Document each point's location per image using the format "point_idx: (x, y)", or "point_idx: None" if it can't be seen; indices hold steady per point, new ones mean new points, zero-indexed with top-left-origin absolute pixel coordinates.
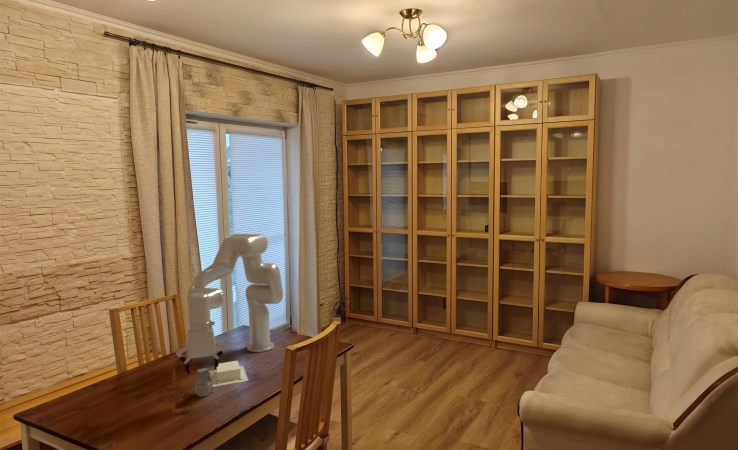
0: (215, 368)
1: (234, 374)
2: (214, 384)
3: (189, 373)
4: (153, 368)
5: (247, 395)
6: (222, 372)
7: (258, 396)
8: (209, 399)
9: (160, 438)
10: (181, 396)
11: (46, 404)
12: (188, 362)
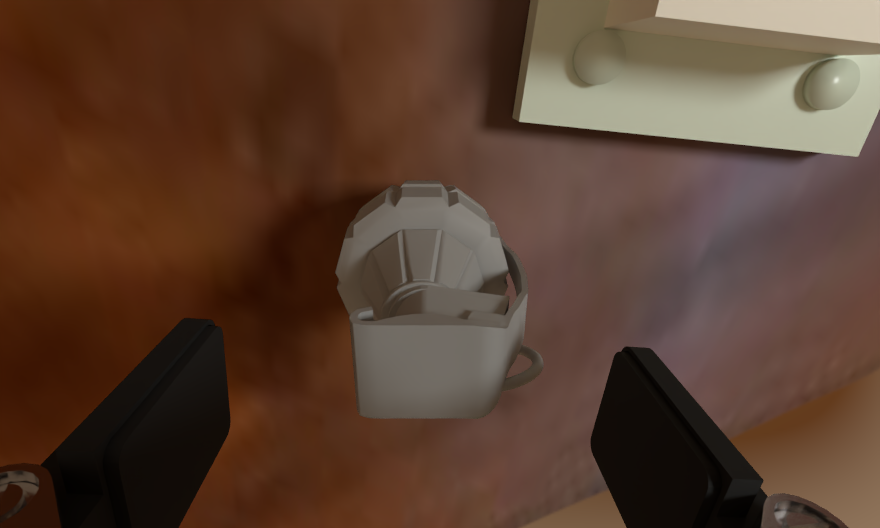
0: (605, 466)
1: (820, 44)
2: (558, 73)
3: (227, 429)
4: None
5: (714, 338)
6: (718, 24)
7: (764, 382)
8: None
9: None
10: (240, 95)
11: None
12: (117, 515)
